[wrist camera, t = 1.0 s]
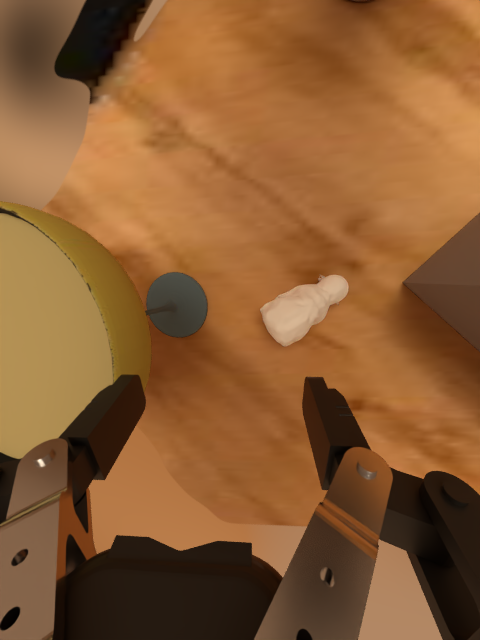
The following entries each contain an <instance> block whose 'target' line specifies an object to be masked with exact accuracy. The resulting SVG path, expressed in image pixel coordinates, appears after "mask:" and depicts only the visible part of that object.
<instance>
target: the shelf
mask: <svg viewBox="0 0 480 640" xmlns="http://www.w3.org/2000/svg"><path fill="white" fill-rule="evenodd" d="M403 284H405V285H406V286H407V287H408V288H409V289H410V290H411V291H412V292H414V293H415V294H416V295H417V296H418V297H419V298H420V299H421V300H422V301H424V302H425V303H426V304H427V305H428V306H429V307H430V308H431V309H433V310H434V311H435V312H436V313H437V314H438V315H439V316H440V317H441V318H443V319H444V320H445V321H446V322H447V323H448V324H449V325H450V326H452V327H453V328H454V329H455V330H456V331H457V332H458V333H459V334H460V335H462V336H463V337H464V338H465V339H466V340H467V341H468V342H469V343H470V344H472V345H473V346H474V347H475V348H476V349H477V350H478V351H479V352H480V213H479V214H478V215H477V216H476V217H475V218H473V219H472V220H471V221H470V222H469V223H468V224H467V225H466V226H465V227H463V228H462V229H461V230H460V231H459V232H458V233H457V234H456V235H455V236H454V237H452V238H451V239H450V240H449V241H448V242H447V243H446V244H445V245H444V246H443V247H441V248H440V249H439V250H438V251H437V252H436V253H435V254H434V255H433V256H431V257H430V258H429V259H428V260H427V261H426V262H425V263H424V264H423V265H422V266H420V267H419V268H418V269H417V270H416V271H415V272H414V273H413V274H412V275H410V276H409V277H408V278H407V279H406V280H405V281H404V282H403Z"/></svg>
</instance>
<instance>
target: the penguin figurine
mask: <svg viewBox="0 0 480 640" xmlns="http://www.w3.org/2000/svg"><path fill="white" fill-rule="evenodd" d="M321 276H322V275H321ZM321 276H320V277H321ZM322 277H323V278H322ZM322 277H321V278H322V279H320V278H318V279H320V280H321V281H320V280H318V281H320V282H319V283H317V284H306V285H299V286H296V287H295V288H293V289H292V290H290V291H288V292H286V293H284V294H281V295H278V296H277V297H276V298H275V300H272V301H271V302H268V303H266V304H265V305H264V306H263V307H262V308H261V309H260V311H261V313H262V317H263V322H264V323H265V326H266V328H267V330H268V332H269V333H270V335H271V336H272V337H273V338H274V339H275V340H276V341H277V342H278V343H280V344H281V345H282V346H288V345H291V344H292V343H294V342H296V341H299V340H300V339H302V338H303V337H304V336H305V335H306V333H307V332H308V331H309V329H310V327H311V326H312V325H315V324H318V323H320V322H321V321H322V320H323V319H324V318H325V316H326V314H327V311H328V309H329V306H330V305H332V304H334V303H337V302H339V301H341V300H342V299H343V298H345V296H346V295H347V293H348V289H349V286H348V283H347V281H346V279H345V278H343V277H342V276H339V275H330V276H327V277H324V276H322ZM338 305H339V304H338Z"/></svg>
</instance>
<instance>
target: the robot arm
mask: <svg viewBox="0 0 480 640" xmlns="http://www.w3.org/2000/svg"><path fill="white" fill-rule="evenodd" d="M352 1H357V2H359V1H368V0H352ZM145 405H146V399H145V395H144V391H143V387H142V383H141V379H140V376H139V375H128V374H123V375H120V376H119V377H118V379H117V380H116V381H115V382H114V383H113V384H112V385H109V386H107V387H106V388H104V389H103V390H101V391H100V392H99V393H98V394H97V395H96V396H95V397H94V398H93V399H92V401H91V403H89V404H88V405H87V406H86V407H85V410H83V411H82V412H81V413H80V414H79V415H78V416H77V417H76V418H75V420H74V421H73V422H72V423H71V424H70V425H69V426H68V427H67V428H66V430H65V431H64V432H63V433H62V434H61V435H60V436H59V437H58V438H56V439H51V440H48V441H45V442H43V443H41V444H39V445H37V446H36V447H34V448H33V449H31V450H30V451H29V452H28V453H27V454H26V455H25V456H24V457H23V458H20V459H16V460H12V461H8V462H4V463H0V640H358V637H359V632H360V628H361V623H362V619H363V615H364V610H365V606H366V602H367V597H368V593H369V589H370V584H371V580H372V576H373V571H374V567H375V563H376V558H377V553H378V547H379V546H378V540H379V539H380V540H382V541H384V542H387V543H389V544H392V545H394V546H396V547H399V548H401V549H403V550H406V551H407V554H408V556H409V559H410V561H411V564H412V566H413V568H414V571H415V573H416V576H417V578H418V581H419V583H420V585H421V588H422V590H423V593H424V595H425V597H426V600H427V602H428V605H429V607H430V610H431V612H432V614H433V617H434V619H435V622H436V624H437V627H438V629H439V632H440V634H441V636H442V639H443V640H480V495H479V494H478V493H477V492H476V491H475V490H474V489H473V488H472V487H470V486H469V485H468V484H467V483H465V482H464V481H462V480H461V479H459V478H457V477H455V476H453V475H451V474H449V473H445V472H441V471H431V472H429V473H427V474H426V475H425V477H424V479H422V478H419V477H415V476H412V475H409V474H406V473H403V472H400V471H397V470H395V469H393V468H391V467H389V465H388V464H387V463H386V461H385V460H384V459H383V458H382V457H381V456H379V455H378V454H377V453H375V452H373V451H371V449H370V447H369V445H368V443H367V441H366V439H365V437H364V435H363V433H362V431H361V429H360V427H359V425H358V423H357V421H356V419H355V417H354V416H353V414H352V412H351V410H350V408H349V406H348V404H347V402H346V400H345V398H344V396H343V395H342V394H340V393H339V392H338V391H337V390H336V389H328V388H327V386H326V383H325V381H324V379H323V377H306V378H305V383H304V392H303V402H302V408H303V416H304V420H305V424H306V428H307V432H308V436H309V440H310V444H311V448H312V452H313V456H314V460H315V464H316V468H317V472H318V476H319V480H320V483H321V487H322V490H328V491H327V494H326V496H325V498H324V500H323V502H322V503H321V502H320V503H319V504H318V506H317V508H316V510H315V512H314V514H313V516H312V518H311V520H310V522H309V524H308V526H307V529H306V531H305V533H304V535H303V537H302V539H301V541H300V543H299V545H298V548H297V550H296V552H295V554H294V556H293V558H292V560H291V562H290V564H289V566H288V569H287V571H286V573H285V575H284V577H282V576H281V575H280V574H279V573H278V572H277V571H276V570H275V569H274V568H273V567H271V566H270V565H269V564H268V563H266V562H265V561H263V560H262V559H260V558H258V557H256V556H254V555H252V543H245V542H243V543H242V542H227V541H216V542H212V543H208V544H205V545H202V546H198V547H194V548H190V549H188V550H183V551H178V550H176V549H174V548H171V547H169V546H167V545H165V544H162V543H160V542H158V541H156V540H154V539H151V538H149V537H137V536H136V537H135V536H118V535H117V536H116V537H115V540H114V542H113V545H112V547H111V549H108V550H106V551H103V552H101V553H99V554H97V553H96V550H95V546H94V541H93V531H92V517H91V502H90V491H89V488H88V487H89V485H90V483H91V482H92V480H93V479H94V480H105V479H106V477H107V475H108V473H109V472H110V470H111V468H112V466H113V465H114V463H115V461H116V459H117V458H118V456H119V454H120V452H121V451H122V449H123V447H124V445H125V444H126V442H127V440H128V438H129V436H130V435H131V433H132V431H133V430H134V428H135V426H136V424H137V423H138V421H139V419H140V417H141V416H142V414H143V412H144V409H145Z"/></svg>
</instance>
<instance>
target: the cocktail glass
mask: <svg viewBox="0 0 480 640" xmlns="http://www.w3.org/2000/svg"><path fill="white" fill-rule="evenodd" d="M147 315H149V316H150V319H151V320H152V322H153V324H154V325H155V326H156V327H157V328H158V329H159V330H160V331H162V332H163V333H165V334H167V335H169V336H172V337H186V336H189V335H191V334H193V333H195V332H196V331H197V330H198V329H199V328H200V327H201V326H202V324H203V323H204V321H205V318H206V315H207V299H206V296H205V293H204V291H203V289H202V288H201V286H200V285H199V284H198V283H197V281H195V280H194V279H193V278H191V277H190V276H188V275H185V274H183V273H177V272H172V273H167V274H164V275H162V276H160V277H159V278H158V279H156V280H155V281H154V283H153V284H152V285H151V287H150V289H149V291H148V295H147V310H146V311H145V310H144V307H143V303H142V300H141V298H140V296H139V294H138V292H137V290H136V288H135V286H134V284H133V282H132V280H131V279H130V277H129V276H128V274H127V273H126V271H125V270H124V268H123V267H122V265H121V264H120V263H119V262H118V261H117V260H116V258H115V257H114V256H113V255H112V254H111V253H110V252H109V251H108V249H106V248H105V247H104V246H103V245H102V244H100V243H99V242H98V241H97V240H96V239H94V238H93V237H92V236H91V235H90V234H88V233H87V232H85V231H83V230H82V229H80V228H78V227H77V226H75V225H73V224H71V223H70V222H68V221H66V220H64V219H62V218H60V217H57V216H54V215H51V214H49V213H46V212H43V211H40V210H37V209H34V208H31V207H28V206H24V205H20V204H14V203H8V202H2V201H0V463H4V462H8V461H12V460H16V459H20V458H23V457H24V456H25V455H26V454H27V453H28V452H29V451H30V450H31V449H33V448H34V447H36V446H37V445H39V444H41V443H43V442H45V441H48V440H51V439H56V438H58V437H59V436H60V435H61V434H62V433H63V432H64V431H65V430H66V428H67V427H68V426H69V425H70V424H71V423H72V422H73V421H74V420H75V418H76V417H77V416H78V415H79V414H80V413H81V412H82V411H83V410H85V407H86V406H87V405H88V404H89V403H91V401H92V399H93V398H94V397H95V396H96V395H97V394H98V393H99V392H100V391H101V390H103V389H104V388H106V387H107V386H109V385H112V384H113V383H114V382H115V381H116V380H117V379H118V377H119V376H120V375H123V374H128V375H139V376H140V379H141V383H142V387H143V391H144V392H145V388H146V385H147V382H148V379H149V375H150V367H151V360H152V350H151V335H150V329H149V324H148V319H147Z"/></svg>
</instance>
